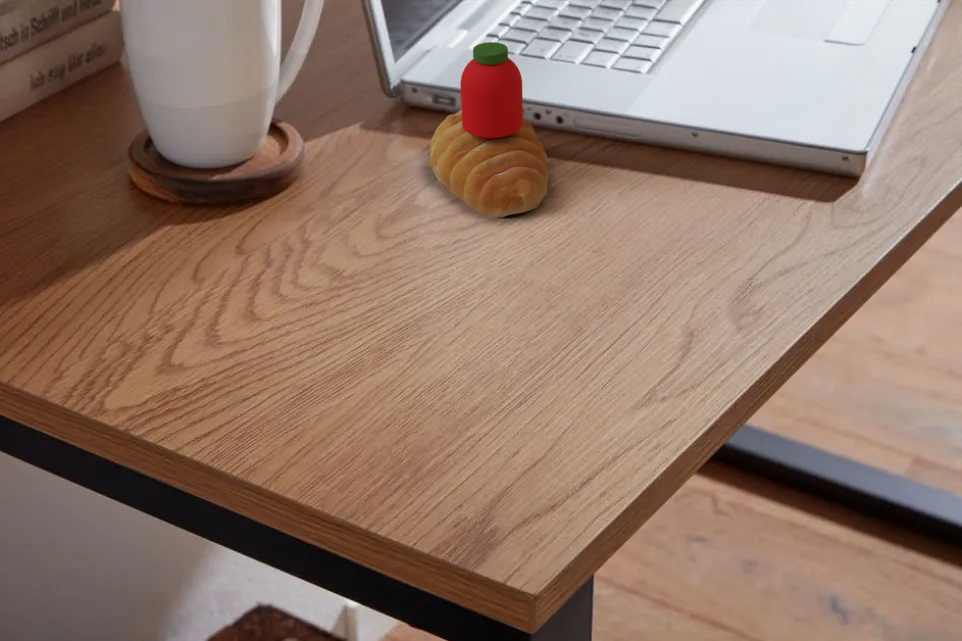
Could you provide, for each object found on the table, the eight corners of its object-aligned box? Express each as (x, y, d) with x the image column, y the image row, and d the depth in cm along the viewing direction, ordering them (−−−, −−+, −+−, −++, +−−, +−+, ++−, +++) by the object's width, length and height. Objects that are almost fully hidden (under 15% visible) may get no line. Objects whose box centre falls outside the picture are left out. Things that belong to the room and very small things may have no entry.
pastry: (575, 214, 78) (575, 155, 76) (464, 235, 76) (461, 176, 74) (522, 146, 85) (520, 91, 83) (420, 164, 84) (416, 108, 82)
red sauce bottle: (522, 111, 81) (521, 35, 78) (523, 137, 78) (522, 60, 75) (462, 112, 81) (459, 37, 78) (461, 138, 78) (458, 61, 75)
